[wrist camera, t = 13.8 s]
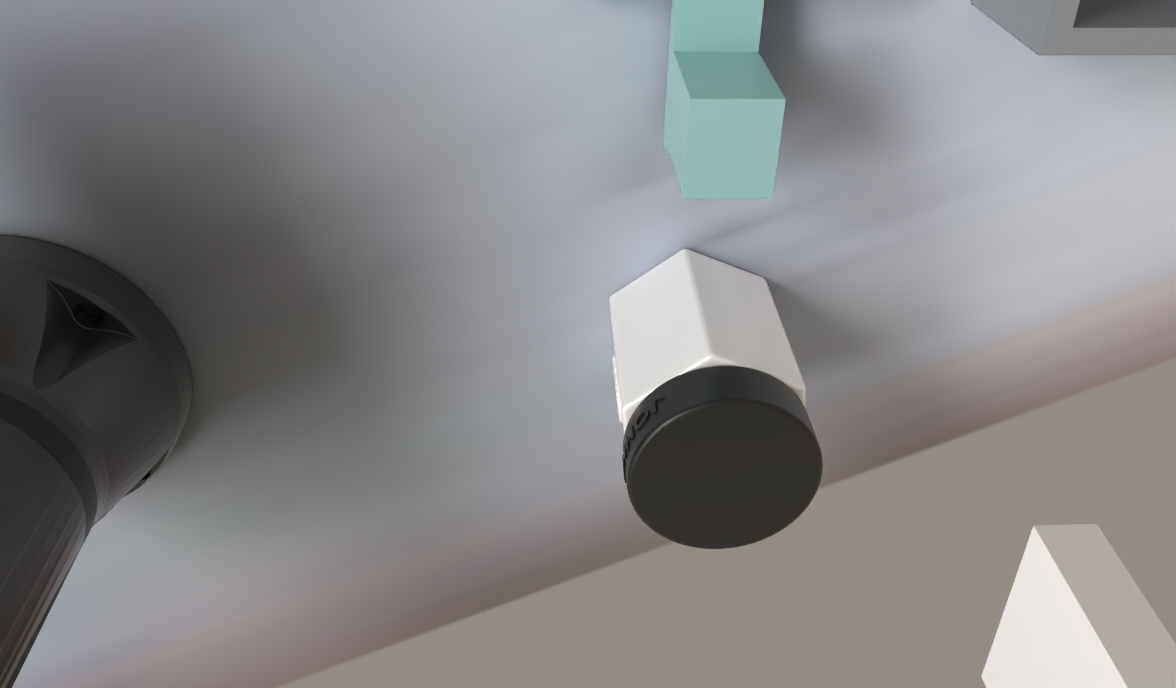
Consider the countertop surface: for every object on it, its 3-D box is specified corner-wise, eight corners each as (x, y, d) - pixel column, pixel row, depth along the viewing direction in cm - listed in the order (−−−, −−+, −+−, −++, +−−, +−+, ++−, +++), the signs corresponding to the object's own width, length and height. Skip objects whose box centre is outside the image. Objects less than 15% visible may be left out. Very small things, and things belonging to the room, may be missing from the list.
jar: (599, 256, 49) (615, 405, 39) (767, 236, 49) (825, 381, 39) (617, 402, 54) (634, 567, 44) (769, 385, 54) (821, 547, 44)
